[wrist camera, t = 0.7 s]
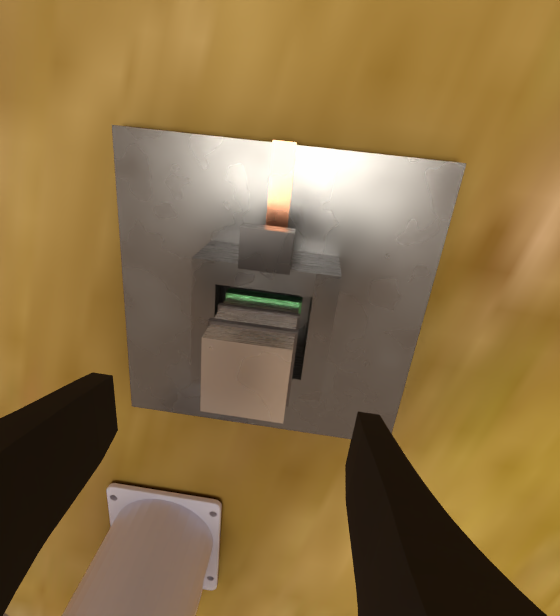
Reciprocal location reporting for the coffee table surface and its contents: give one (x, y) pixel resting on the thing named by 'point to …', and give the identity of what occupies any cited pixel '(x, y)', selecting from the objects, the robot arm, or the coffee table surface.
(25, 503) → the robot arm
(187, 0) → the coffee table surface
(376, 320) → the metal plate with socket
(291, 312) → the column
